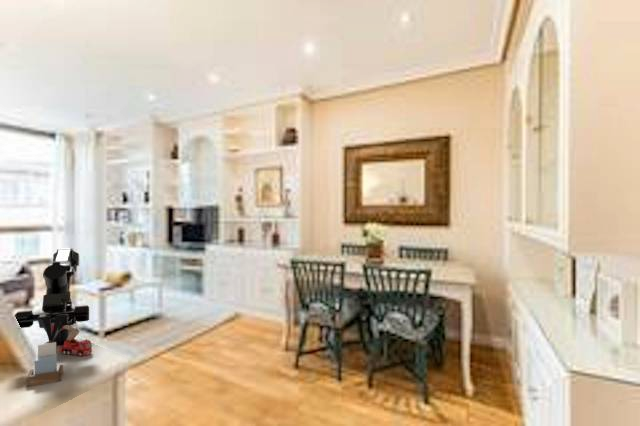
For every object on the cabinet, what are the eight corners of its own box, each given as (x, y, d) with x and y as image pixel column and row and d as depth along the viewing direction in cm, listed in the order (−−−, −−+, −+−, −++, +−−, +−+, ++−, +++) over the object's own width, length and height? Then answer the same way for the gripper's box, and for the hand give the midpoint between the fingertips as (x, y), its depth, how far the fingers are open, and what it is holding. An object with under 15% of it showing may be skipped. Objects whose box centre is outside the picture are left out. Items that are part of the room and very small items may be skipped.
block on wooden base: (36, 377, 102) (37, 344, 102) (56, 374, 104) (57, 341, 104) (34, 383, 98) (35, 349, 98) (54, 380, 101) (55, 346, 101)
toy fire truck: (85, 357, 117) (85, 327, 117) (49, 352, 120) (50, 323, 120) (93, 353, 120) (94, 324, 120) (59, 349, 123) (59, 320, 123)
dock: (33, 370, 107) (34, 361, 107) (65, 365, 110) (65, 357, 110) (26, 386, 97) (26, 377, 97) (61, 380, 101) (61, 371, 101)
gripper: (16, 285, 109) (6, 333, 99) (89, 280, 118) (87, 324, 109) (21, 304, 116) (12, 351, 106) (90, 298, 125) (87, 341, 116)
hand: (50, 341), depth 109 cm, fingers closed
